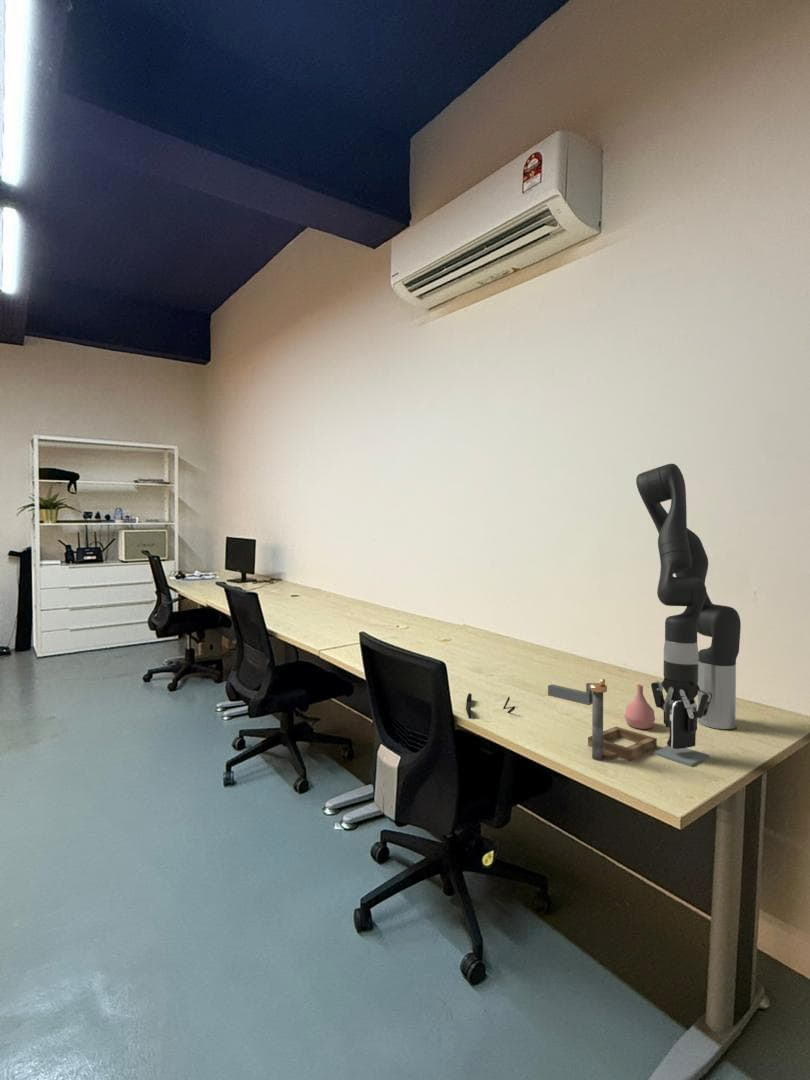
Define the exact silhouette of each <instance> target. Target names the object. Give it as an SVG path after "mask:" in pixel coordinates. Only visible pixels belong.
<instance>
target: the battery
mask: <svg viewBox="0 0 810 1080" xmlns="http://www.w3.org/2000/svg"><path fill="white" fill-rule="evenodd" d="M689 703H690V704H692V703H693V702H692V701H691V702H689ZM696 708H697V709H698V704H696ZM688 718H689V715H688V712H687V709H686V708H685V706H684V703H683V701H681V700H676V699H671V700H668V702H667V703H666V711H665V720H667V721H669V725H670V728H669V738H668V740H667V742H666V744H667V745H668V746H670V747H671V748H673V749H681V748H688V749H689V748H693V747H695V746H696V736H697V735H696V734H697V730H696V731H695V732H694V733H693V734H689V733H688ZM667 745H666V746H667Z"/></svg>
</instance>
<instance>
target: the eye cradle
mask: <svg viewBox="0 0 810 1080" xmlns="http://www.w3.org/2000/svg"><path fill="white" fill-rule="evenodd" d="M592 693H593V704H592V707H591V708H592V711H591V712H592V718H591V719H592V728H591V729H592V731H591V732H592V735H590V736H587V746H588V747H590V748H591V758H592V759H593V760H594V761H603V760H607V761H610V760H612V759H614V758H619V759H621V760H623V761H627V762H631V761H633V760H635V759H637V758H638V757H641V756H642V755H644V754H647V753H648V752H651V751H653V750H654V749H656V748H657V745H658V743H657V742H658V741H657V740H658V739H657V738H656V737H654V736H651V735H646V734H643V733H640V732H635V731H632V730H629V729H627V728H623V727H620V726H614V727H611V728H608V729H606V730H604V693H598V692H592ZM618 737H619V738H622V739H624V740H628V741H629V742H632V743H633V744H631V745H629V746H627V747H626V746H623V745H621V744H617V743H614V742H611V741H612V740H613V739H616V738H618Z"/></svg>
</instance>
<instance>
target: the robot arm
mask: <svg viewBox="0 0 810 1080" xmlns="http://www.w3.org/2000/svg"><path fill="white" fill-rule="evenodd" d="M635 480H636V482H635V483H636V487H637V491H638V493H639V496H640V499H641V500H642V502H643V503H644V506H645V508H646V509H647V512H648V514H649V516H650V518H651V519H652V521H653V524H654V525H655V528H656V530H657V533H658V537H657V548H658V554H659V561H660V572H659V573H660V574H659V580H658V585H657V591H656V593H657V598H658V600H659V602H660V603H661V604H662V605H664V606H667V607H686V608H685V609H684V611H683V612H681V613H678V614H673V615H670V616H667V617H666V618H665V622H664V628H665V629H664V644H663V680H662V681H654V682H652V683H651V685H650V686H651V687H650V688H651V691H652V695H653V699H654V705H655V707H656V708H660V709H661V710H662V711H663V724H664V725H665V728H668V729H670V725H669V721H667V720H665V711H666V703H667V702H668V700H671V699H676V700H681V701H683V703H684V706H685V708H686V709H687V712H688V715H689V718H688V733H689V734H693V733H694V732H695V731H696V732H697V730H698V724H700V725H703V726H705V727H708V728H712V729H719V730H731V729H735V728H736V710H737V709H736V703H737V700H736V699H737V696H736V694H737V693H736V692H737V690H736V689H737V657H738V655H739V653H740V642H741V617H740V614H739V613H738V610H736V609H735V608H733V607H732V606H727V605H721V604H714V603H713V602H712V601H711V599H710V597H709V594H708V592H707V587H706V578H707V574H708V570H709V559H708V555H707V553H706V550H705V548H704V545H703V543H702V541H701V538H700V537H699V536H698V535H697V534H696V533H695V532H693V531H692V530H691V529H689V528H688V527H687V520H688V519H687V517H688V516H687V515H688V514H687V489H686V488H687V487H686V483H685V479H684V475H683V473H682V471H681V469H680V468H679V466H678V465H677V464H676V463H668V464H663V465H660V466H658V467H655V468H652V469H648V470H646V471H644V472H641V473H639V474H638V475H636V479H635ZM667 501H671V502H670V507H669V510H668V511H667V510H666V509H665V508H664V507H663V505H662V503H664V502H667ZM674 574H675V575H674ZM699 634H700V635H702V636H705V637H708V638H711V642H710V644H711V645H710V646H709V647H707V648H703V649H700V650H699V647H698V635H699ZM663 690H664V691H665V693H666V696H665V698H664V692H663ZM696 697H697V702H696ZM691 701H692V702H693V703H692V704H690V703H689V702H691ZM696 705H697V708H696Z"/></svg>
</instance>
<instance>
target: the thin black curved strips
mask: <svg viewBox="0 0 810 1080" xmlns="http://www.w3.org/2000/svg"><path fill="white" fill-rule="evenodd" d="M472 696H473V695H472V693H470V692H469V693H468V694H467V697H466V703H465V711H466V714H467V716H468V718H467V719H471V717H472V707H471V704H470V703H471V701H472V699H473V698H472ZM510 698H511V697H510V695H509V696H508V697H507V700H506V701H505V703H504V706H503V708H502V710H504V709H506V707H507V705H508V704H509V701H510ZM514 710H516V706H515V705H513V706H512V707H511V708H510V709H509V710H507V712H506V713H508V714H511V712H513V711H514Z"/></svg>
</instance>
